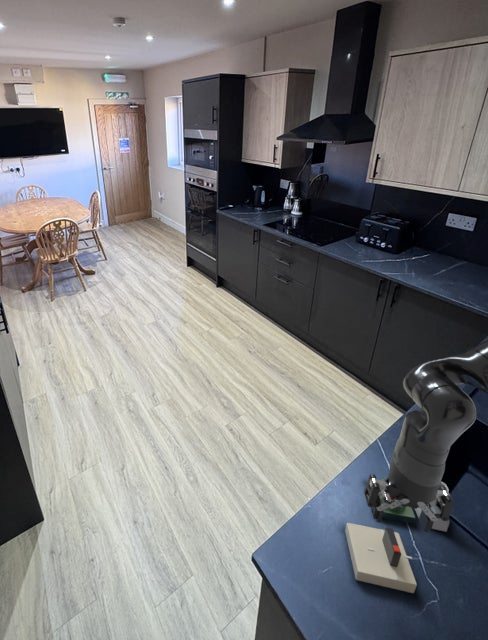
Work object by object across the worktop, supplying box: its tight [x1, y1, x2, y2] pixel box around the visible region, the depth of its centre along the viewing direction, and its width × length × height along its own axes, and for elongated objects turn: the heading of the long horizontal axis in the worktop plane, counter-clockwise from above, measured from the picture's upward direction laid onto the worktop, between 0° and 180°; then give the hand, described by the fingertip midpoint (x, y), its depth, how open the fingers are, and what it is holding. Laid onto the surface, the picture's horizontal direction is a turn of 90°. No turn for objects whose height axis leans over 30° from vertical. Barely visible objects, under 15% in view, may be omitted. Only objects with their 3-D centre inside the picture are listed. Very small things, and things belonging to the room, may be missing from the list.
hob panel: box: [344, 522, 418, 594], centre depth 70 cm, size 12×9×3 cm
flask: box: [414, 481, 451, 533], centre depth 77 cm, size 7×7×10 cm
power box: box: [367, 477, 416, 525], centre depth 81 cm, size 8×8×4 cm
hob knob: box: [382, 526, 401, 567], centre depth 69 cm, size 5×1×5 cm, turn 169°
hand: (399, 522), depth 65 cm, fingers open, 8 cm apart
